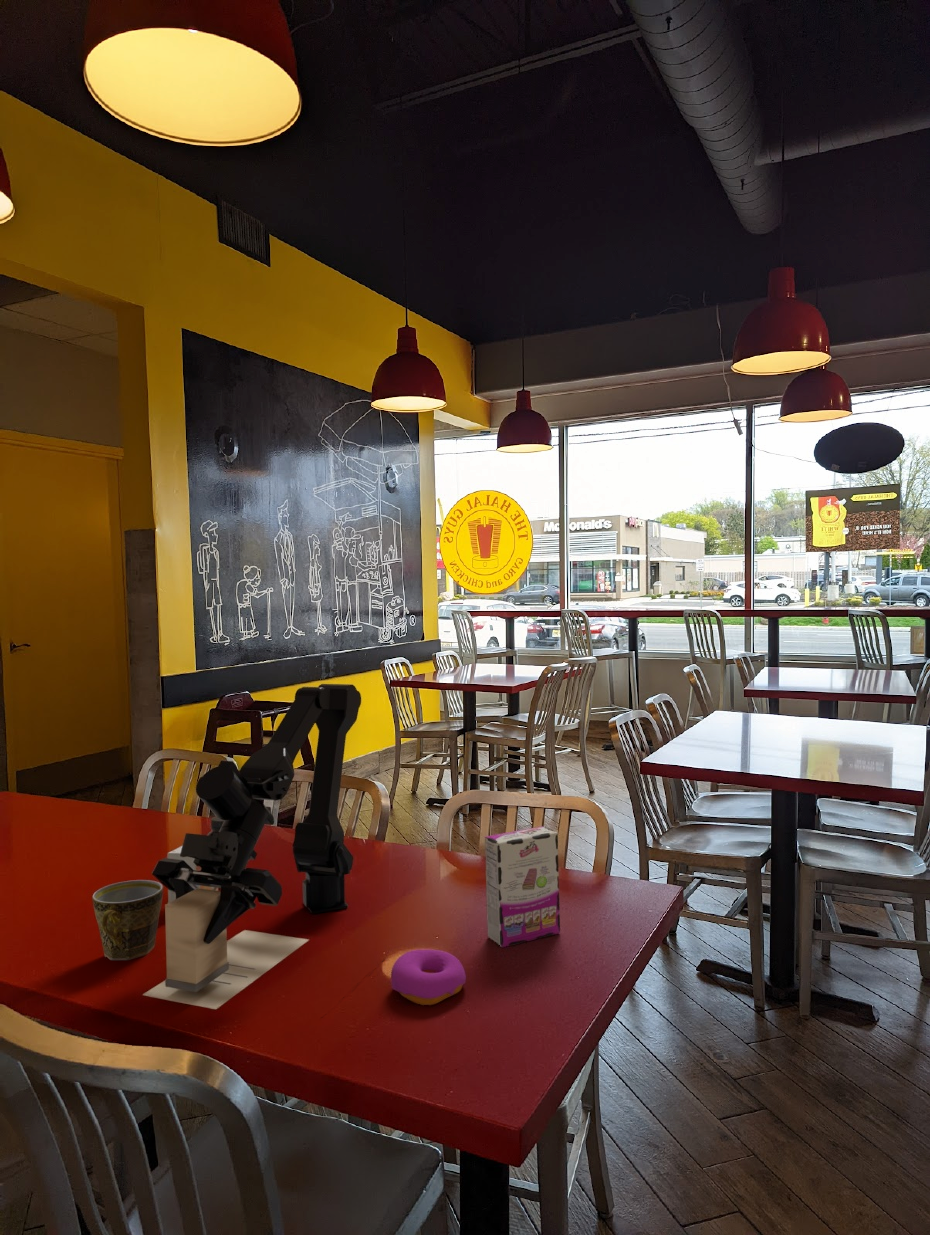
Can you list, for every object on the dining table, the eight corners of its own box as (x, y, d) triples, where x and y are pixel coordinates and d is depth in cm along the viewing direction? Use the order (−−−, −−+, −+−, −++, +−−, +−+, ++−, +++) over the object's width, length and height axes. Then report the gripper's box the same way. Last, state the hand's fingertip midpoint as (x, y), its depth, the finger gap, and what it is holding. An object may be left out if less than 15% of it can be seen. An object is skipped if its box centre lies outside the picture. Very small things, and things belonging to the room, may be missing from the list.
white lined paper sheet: (244, 935, 131) (244, 930, 131) (309, 944, 127) (309, 939, 127) (142, 1000, 110) (142, 994, 110) (216, 1015, 106) (215, 1009, 106)
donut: (424, 1017, 105) (423, 982, 104) (375, 991, 112) (374, 958, 112) (480, 990, 112) (479, 957, 112) (430, 967, 119) (430, 936, 119)
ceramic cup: (112, 942, 129) (111, 879, 129) (174, 942, 129) (173, 879, 129) (70, 980, 116) (69, 910, 116) (139, 980, 116) (137, 910, 116)
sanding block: (199, 964, 115) (197, 887, 115) (228, 969, 114) (227, 891, 114) (165, 986, 109) (163, 905, 109) (196, 992, 107) (194, 909, 107)
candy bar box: (544, 923, 134) (542, 825, 134) (561, 934, 130) (559, 832, 130) (484, 937, 129) (483, 834, 129) (500, 949, 125) (499, 842, 124)
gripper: (159, 803, 118) (103, 905, 108) (268, 812, 111) (220, 923, 101) (196, 841, 125) (146, 940, 115) (300, 852, 119) (258, 959, 109)
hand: (190, 940), depth 110 cm, fingers closed on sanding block, 5 cm apart
